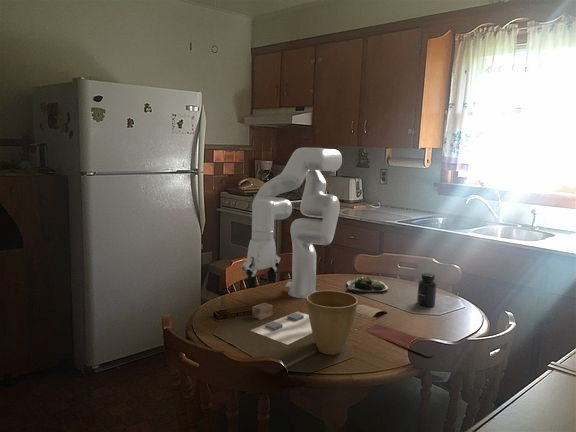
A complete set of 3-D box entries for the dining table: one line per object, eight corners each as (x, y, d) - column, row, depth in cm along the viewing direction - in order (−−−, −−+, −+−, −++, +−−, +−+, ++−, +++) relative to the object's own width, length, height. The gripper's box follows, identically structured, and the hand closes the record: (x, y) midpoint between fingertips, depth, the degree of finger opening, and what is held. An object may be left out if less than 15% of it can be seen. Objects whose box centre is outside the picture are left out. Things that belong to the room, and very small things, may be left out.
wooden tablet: (448, 351, 141) (448, 346, 141) (428, 360, 135) (429, 355, 135) (380, 324, 162) (380, 320, 162) (360, 331, 156) (360, 326, 155)
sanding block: (252, 320, 162) (252, 306, 162) (264, 315, 167) (264, 302, 166) (260, 323, 160) (260, 309, 159) (272, 318, 164) (272, 305, 164)
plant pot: (297, 354, 136) (298, 301, 134) (315, 336, 149) (317, 287, 147) (347, 365, 130) (349, 309, 128) (361, 344, 144) (363, 294, 141)
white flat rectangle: (249, 333, 151) (249, 330, 150) (297, 314, 168) (297, 311, 168) (287, 348, 140) (287, 344, 140) (334, 326, 158) (334, 322, 158)
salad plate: (340, 281, 212) (341, 271, 212) (379, 281, 213) (380, 271, 213) (348, 294, 193) (349, 284, 193) (391, 294, 194) (392, 283, 194)
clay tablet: (368, 324, 162) (368, 317, 161) (344, 317, 168) (344, 310, 168) (389, 314, 172) (390, 306, 172) (366, 307, 179) (366, 300, 179)
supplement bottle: (415, 305, 180) (417, 275, 178) (418, 300, 186) (419, 271, 184) (434, 308, 177) (436, 277, 176) (436, 303, 184) (438, 273, 182)
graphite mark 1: (265, 327, 153) (265, 324, 153) (273, 324, 156) (273, 321, 156) (274, 330, 150) (274, 327, 150) (282, 327, 153) (282, 324, 153)
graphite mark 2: (287, 318, 161) (287, 315, 161) (294, 315, 164) (294, 312, 164) (296, 321, 158) (296, 318, 158) (303, 318, 161) (303, 315, 161)
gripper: (272, 231, 168) (271, 278, 170) (236, 236, 155) (235, 287, 157) (287, 234, 163) (286, 282, 165) (252, 240, 150) (251, 291, 152)
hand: (261, 284), depth 161 cm, fingers open, 9 cm apart
